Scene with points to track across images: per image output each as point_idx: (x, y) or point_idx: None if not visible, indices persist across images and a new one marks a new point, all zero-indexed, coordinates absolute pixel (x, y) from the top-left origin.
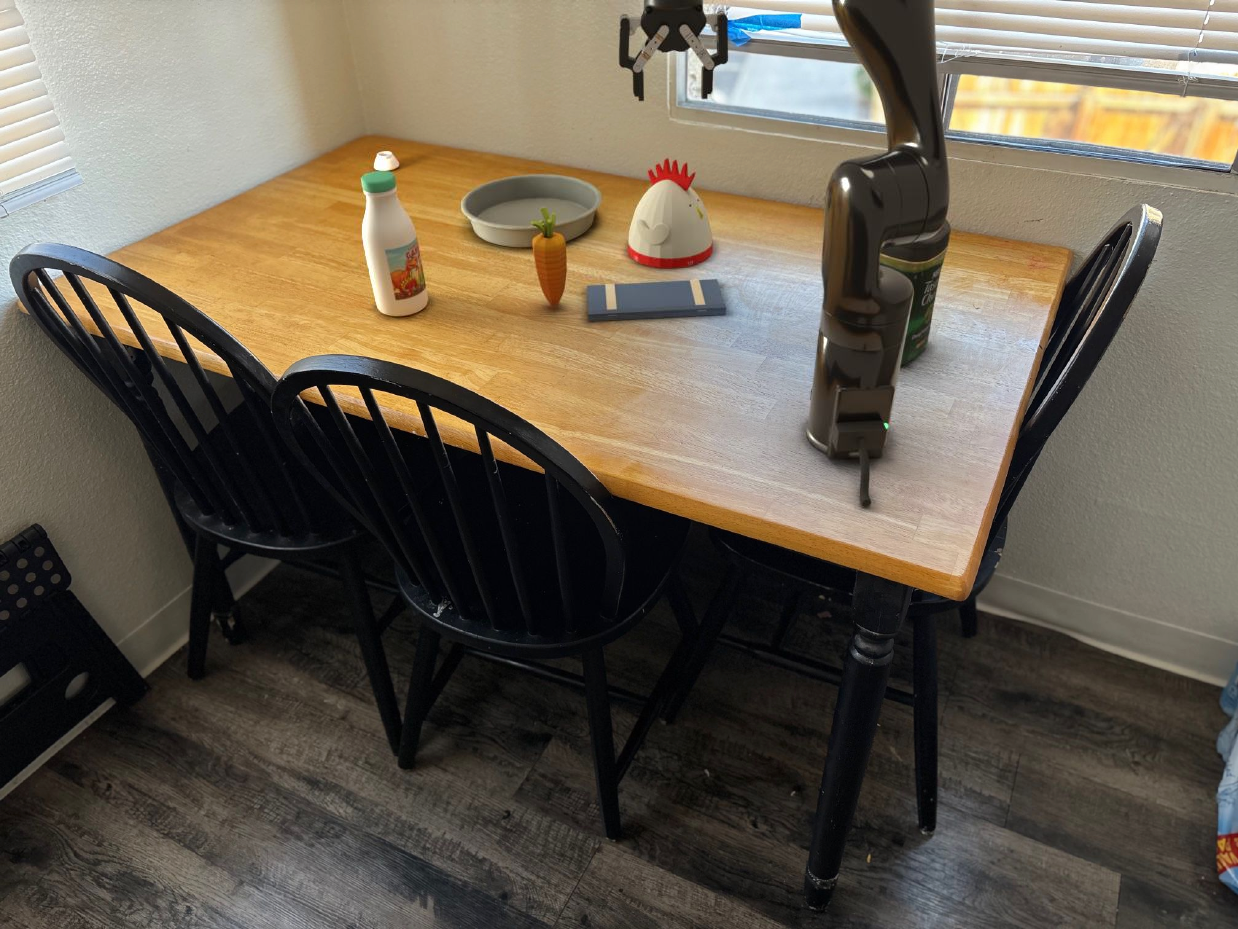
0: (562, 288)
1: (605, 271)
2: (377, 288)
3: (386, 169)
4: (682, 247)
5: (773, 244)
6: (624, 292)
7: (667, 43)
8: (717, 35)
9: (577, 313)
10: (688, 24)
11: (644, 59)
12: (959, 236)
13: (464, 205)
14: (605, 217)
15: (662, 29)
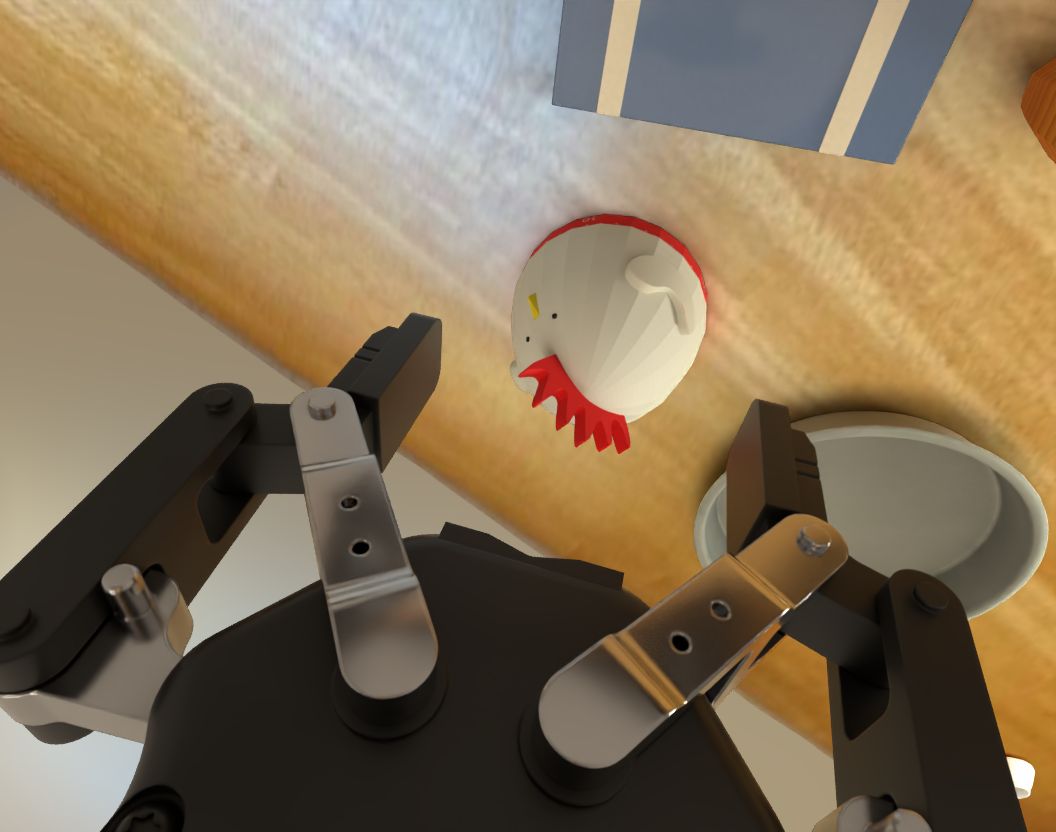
0: (1049, 65)
1: (795, 251)
2: None
3: (1016, 759)
4: (601, 237)
5: (394, 261)
6: (814, 90)
7: (569, 611)
8: (175, 559)
9: (996, 15)
10: (333, 693)
11: (764, 569)
12: (48, 181)
13: (1023, 575)
14: (692, 478)
15: (607, 726)
